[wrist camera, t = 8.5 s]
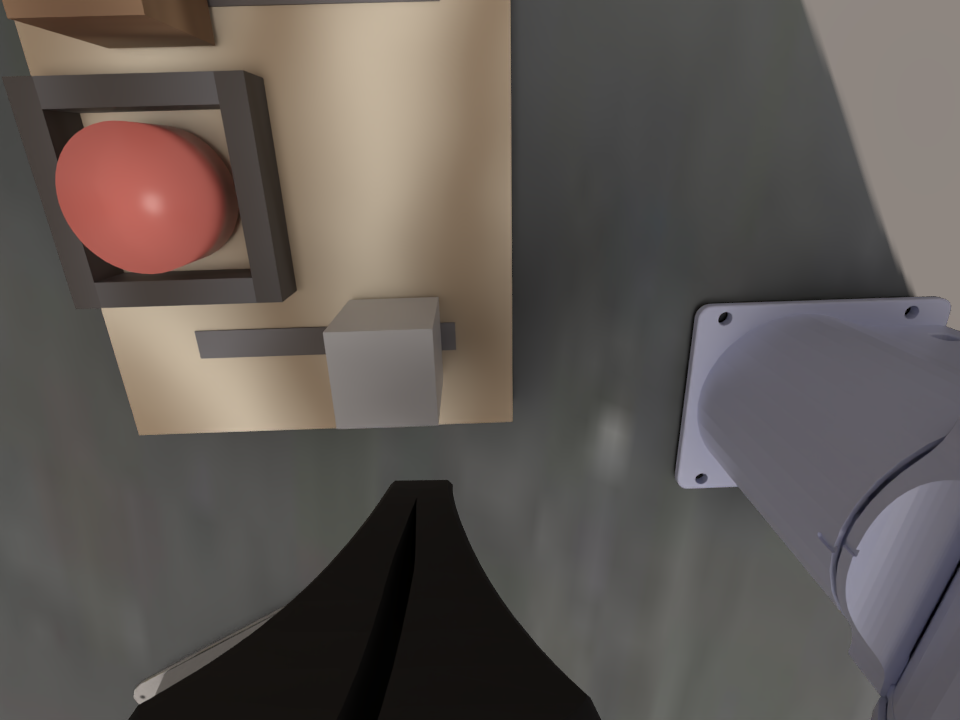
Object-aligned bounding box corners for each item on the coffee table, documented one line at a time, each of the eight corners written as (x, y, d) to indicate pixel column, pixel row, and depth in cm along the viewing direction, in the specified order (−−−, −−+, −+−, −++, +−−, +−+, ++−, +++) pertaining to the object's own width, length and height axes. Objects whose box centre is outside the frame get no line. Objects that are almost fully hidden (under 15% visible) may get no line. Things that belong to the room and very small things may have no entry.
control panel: (505, -177, 15) (514, -255, 12) (509, 404, 21) (516, 441, 18) (-2, -166, 14) (-114, -243, 12) (161, 416, 21) (114, 456, 18)
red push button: (224, 122, 15) (190, 118, 14) (249, 258, 17) (222, 271, 15) (86, 126, 15) (33, 122, 13) (124, 263, 17) (81, 276, 15)
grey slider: (438, 296, 18) (432, 328, 14) (443, 378, 19) (438, 425, 15) (349, 299, 18) (322, 332, 14) (359, 381, 19) (336, 429, 15)
